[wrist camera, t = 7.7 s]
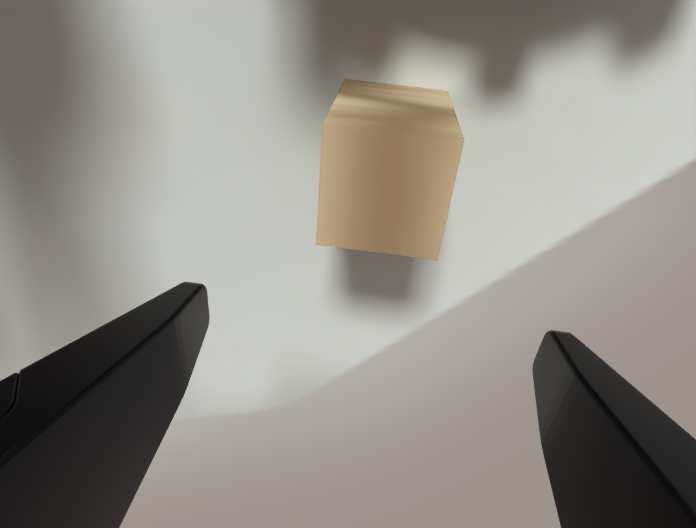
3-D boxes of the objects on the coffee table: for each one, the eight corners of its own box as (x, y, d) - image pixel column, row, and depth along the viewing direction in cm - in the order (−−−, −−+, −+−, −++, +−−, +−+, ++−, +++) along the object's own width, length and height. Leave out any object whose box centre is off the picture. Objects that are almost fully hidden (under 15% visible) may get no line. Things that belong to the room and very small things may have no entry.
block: (337, 175, 21) (316, 244, 16) (345, 79, 19) (322, 123, 13) (429, 186, 21) (437, 260, 16) (448, 90, 18) (464, 140, 13)
